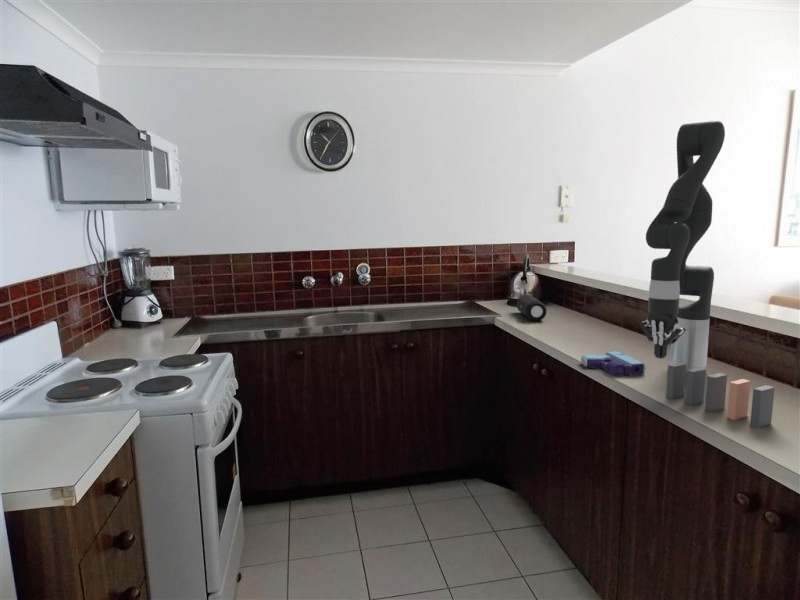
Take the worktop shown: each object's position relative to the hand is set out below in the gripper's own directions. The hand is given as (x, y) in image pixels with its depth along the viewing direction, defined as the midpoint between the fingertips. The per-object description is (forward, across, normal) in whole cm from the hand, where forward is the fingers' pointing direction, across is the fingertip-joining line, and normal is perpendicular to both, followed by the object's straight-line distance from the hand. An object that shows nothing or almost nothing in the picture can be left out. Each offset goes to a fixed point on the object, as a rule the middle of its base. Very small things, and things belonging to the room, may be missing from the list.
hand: (659, 357), depth 142 cm
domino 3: (+10, -16, 0) cm, 19 cm away
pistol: (+10, +21, -5) cm, 24 cm away
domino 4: (+10, -22, 0) cm, 24 cm away
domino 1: (+10, -5, 0) cm, 11 cm away
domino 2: (+10, -11, 0) cm, 14 cm away
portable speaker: (+8, +102, -40) cm, 110 cm away
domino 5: (+10, -27, 0) cm, 29 cm away
